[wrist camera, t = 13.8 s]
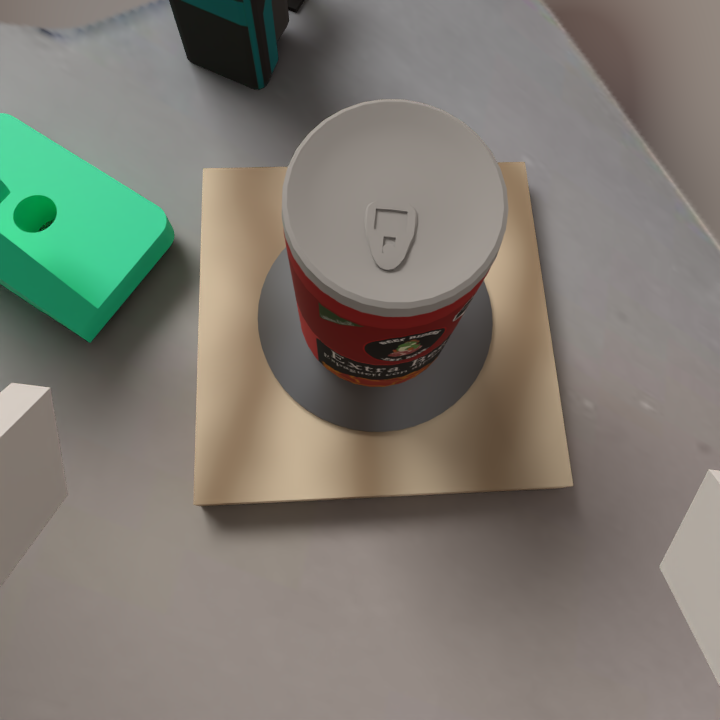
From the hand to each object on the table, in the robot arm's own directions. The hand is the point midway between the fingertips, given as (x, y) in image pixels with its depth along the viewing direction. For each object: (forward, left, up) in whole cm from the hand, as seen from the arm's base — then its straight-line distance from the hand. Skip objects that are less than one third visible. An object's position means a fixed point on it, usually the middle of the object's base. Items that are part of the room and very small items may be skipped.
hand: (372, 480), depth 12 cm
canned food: (+2, +9, -16) cm, 19 cm away
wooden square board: (+2, +10, -17) cm, 20 cm away
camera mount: (-16, +15, -18) cm, 28 cm away
